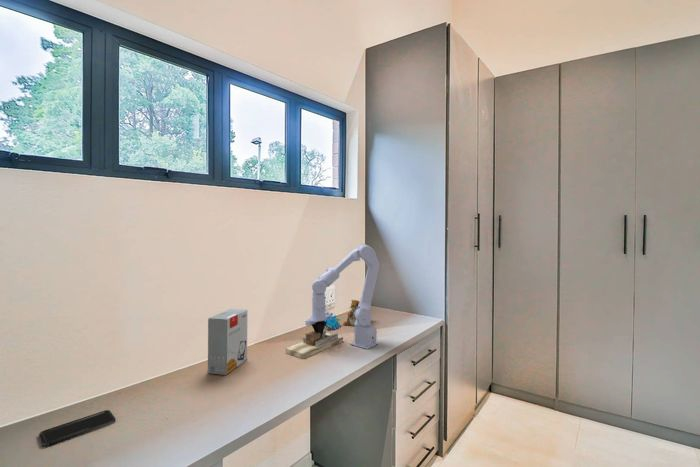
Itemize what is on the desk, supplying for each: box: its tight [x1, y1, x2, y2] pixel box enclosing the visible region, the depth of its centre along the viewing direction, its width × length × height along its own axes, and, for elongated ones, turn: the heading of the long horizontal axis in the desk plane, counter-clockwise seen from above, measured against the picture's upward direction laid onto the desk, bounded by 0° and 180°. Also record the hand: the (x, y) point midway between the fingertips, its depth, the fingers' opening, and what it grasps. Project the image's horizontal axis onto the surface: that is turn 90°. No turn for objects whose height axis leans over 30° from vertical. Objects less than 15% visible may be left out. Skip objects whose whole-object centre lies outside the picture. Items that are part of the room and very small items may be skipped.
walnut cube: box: [305, 330, 320, 346], centre depth 150 cm, size 4×4×4 cm
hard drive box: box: [207, 308, 248, 376], centre depth 131 cm, size 16×8×20 cm, turn 168°
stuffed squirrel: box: [342, 299, 360, 326], centre depth 186 cm, size 10×14×13 cm
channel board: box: [285, 329, 344, 360], centre depth 151 cm, size 10×26×4 cm, turn 143°
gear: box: [324, 311, 341, 330], centre depth 180 cm, size 11×6×10 cm
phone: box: [38, 409, 116, 448], centre depth 91 cm, size 8×1×15 cm
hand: (318, 338), depth 153 cm, fingers closed
